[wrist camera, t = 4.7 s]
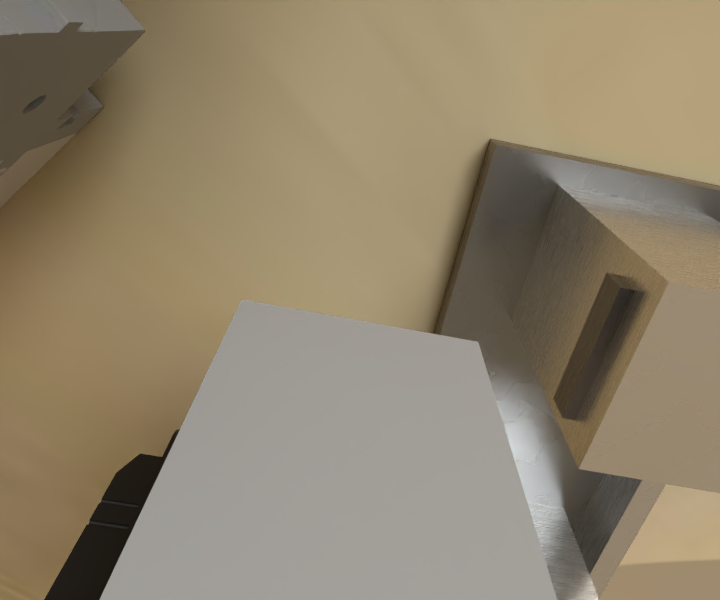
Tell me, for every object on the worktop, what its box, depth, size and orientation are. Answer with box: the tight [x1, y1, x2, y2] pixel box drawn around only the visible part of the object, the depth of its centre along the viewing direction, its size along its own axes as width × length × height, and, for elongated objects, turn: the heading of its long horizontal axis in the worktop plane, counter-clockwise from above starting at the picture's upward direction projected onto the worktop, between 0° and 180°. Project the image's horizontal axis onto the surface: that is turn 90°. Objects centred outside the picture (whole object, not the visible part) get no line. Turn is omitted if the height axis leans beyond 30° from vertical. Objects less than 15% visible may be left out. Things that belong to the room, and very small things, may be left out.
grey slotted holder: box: [434, 139, 720, 600], centre depth 23 cm, size 24×11×10 cm, turn 169°
